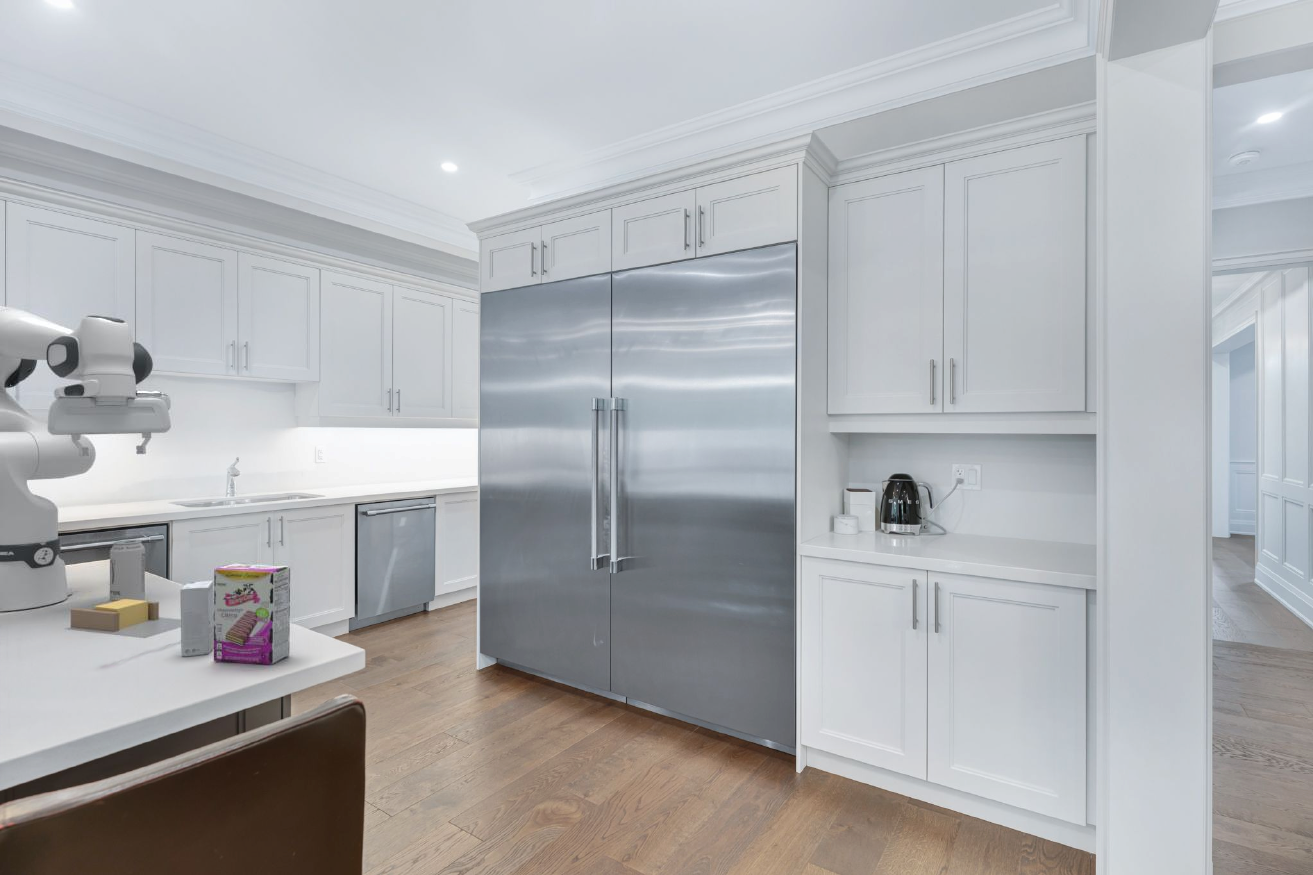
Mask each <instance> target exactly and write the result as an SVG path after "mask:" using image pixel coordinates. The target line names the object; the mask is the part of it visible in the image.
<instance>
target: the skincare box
mask: <svg viewBox="0 0 1313 875" xmlns="http://www.w3.org/2000/svg"><path fill="white" fill-rule="evenodd" d="M179 594H180V602H179V603H180V619H181V627H180V647H181V649H180V650H181V657H193V656H202V655H208V654H210V653H211V651H212V650H214V581H213V580H205V581H204V580H203V581H195V582H187V583H186V584H184V585H183V587H182V588H181V589H180V593H179Z"/></svg>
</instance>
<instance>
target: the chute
mask: <svg viewBox="0 0 1313 875" xmlns="http://www.w3.org/2000/svg"><path fill="white" fill-rule="evenodd" d="M119 600H123V599H120V598H117V599H112V602H115V601H119ZM147 601H148V600H147ZM159 606H160V602H158V601H148V621H145V622H142V623H138V624H135V625H131V626H128V627H124V628H121V629H119V612H110V611H100V610H94V609H91V608H90V609H88V608H80V607H79V608H78V607H76V608H71V609H70V626H69V627H66V628H65V630H69V631H70V630H71V631H78V632H79V631H80V632H86V633H87V632H88V633H95V634H96V633H97V634H105V635H114V636H123V637H132V638H140V639H141V638H142V639H146V638H151V637H153V636H156V635H160V634H163V633H166V632H170V631H173V630H176V629H179V628H181V618H180V619H179V618H170V617H162V616H161V617H160V615H159V614H160V607H159Z"/></svg>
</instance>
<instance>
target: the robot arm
mask: <svg viewBox="0 0 1313 875" xmlns="http://www.w3.org/2000/svg"><path fill="white" fill-rule="evenodd" d="M38 361H46V364H47V365H48V368H49V369H50V370H51V371H52V372H53V373H54V374H55V376H57V377H59V378H62V379H66V380H74V381H80V382H75V383H74V382H73V383H70V384H66V385H62V386H58V387H56V388H55V389H54V391H53V395H54V398H55V400H54V401H53V402H52V403H51V404H50V407H49V411H48V418H47V422H45V421H43V420H42V419H39V418H37V417H35V416H34V415H33V416H32V415H31V414H30V413H28V412H27V411H26V410H24V408H23V407H22V406H21V405H20V404H19V403H18V402H17V401H16V400H15V399H14V398H13V396H11V395H10V394H9V393H8V391H6V388H7V389H9V388H14V387H16V386H17V385H18V384H20V383H21V382H23V381H25V380H26V379H27V378H28V377H30V376H31V375H32V374H33V373H34V371H35V370H36V367H37V363H38ZM153 366H154V363H153V358H152V356H151V355H150V353H149V351H148V350H147V349H146V347H144V346H143V345H142V344H141V343H140V342H134V340H133V335H132V331H131V327H130V325H129V323H128V322H126V321H125V320H124V319H121V318H115V317H109V316H103V315H102V316H101V315H87V316H84V317H82V319H81V321H80V323H79V326H78V327H77V328H76V329H75V330H74V329H70V328H68V327H65V326H62V325H60V324H57V323H55V322H53V321H50V320H48V319H46V318H43V317H40V316H39V315H36V314H34V313H32V312H29V311H25V310H22V309H19V308H15V307H11V306H4V305H0V612H8V611H10V612H11V611H20V610H27V609H33V608H39V607H43V606H49V605H53V604H56V603H60V602H62V601H65V600H67V599H68V596H70V595H72V594H73V589H72V588H68V580H67V572H66V571H67V570H66V564H65V561H64V560H63V559H62V558H60V556H59V555H60V554H61V551H62V550H61V548H62V543H61V539H60V538H59V509H58V506H57V505H56V504H55V503H54V502H53V501H51V500H50V499H48V498H46V497H42V496H40V495H38V494H34V493H32V492H31V491H30V489H29V486H28V481H37V480H52V479H54V480H55V479H65V478H71V477H73V476H78V475H82V474H86V473H87V472H88V471H89V470H90V469H91V468H92V467H93V465H94V463H95V460H96V456H97V455H96V453H97V452H96V448H95V446H94V444H93V442H92V441H91V440H90V438H88V437H87V436H85V435H121V434H123V435H124V434H127V435H128V434H141V438H142V439H144V440H143V442H142V443H141V444H140V445H136V446H135V450H136V455H146V453H147V451H146V450H147V448H146V447H147V446H148V443H149V442H150V440H151V439H152V434H162V433H163V434H164V433H167V432H168V431H170V429H171V428H172V425H171V419H170V413H169V410H170V408H171V398H170V396H169V395H167V394H166V393H163V392H162V391H157V390H155V391H146V390H144V391H142V390H137V385H139V384H140V383H142V382H143V381H144V380H146V379H147V378H148V377H149V376H150V374H151V373H152V371H153Z"/></svg>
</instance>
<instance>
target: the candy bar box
mask: <svg viewBox="0 0 1313 875" xmlns="http://www.w3.org/2000/svg"><path fill="white" fill-rule="evenodd" d="M213 572H214V574H213V575H214V577H213V579H214V581H213V592H214V647H213V662H222V663H223V662H225V663H240V664H255V665H256V664H257V665H274V664H277V663H278V662H280V661H282V660H283V659H285V658H287V657H289V656H290V644H291V642H290V635H291V634H290V629H291V628H290V627H291V626H290V618H291V616H290V610H291V600H290V598H291V565H277V564H276V565H275V564H274V565H272V564H257V563H256V564H254V563H253V564H252V563H229V564H226V565H222V566H218V567H217V568H214V570H213Z"/></svg>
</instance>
